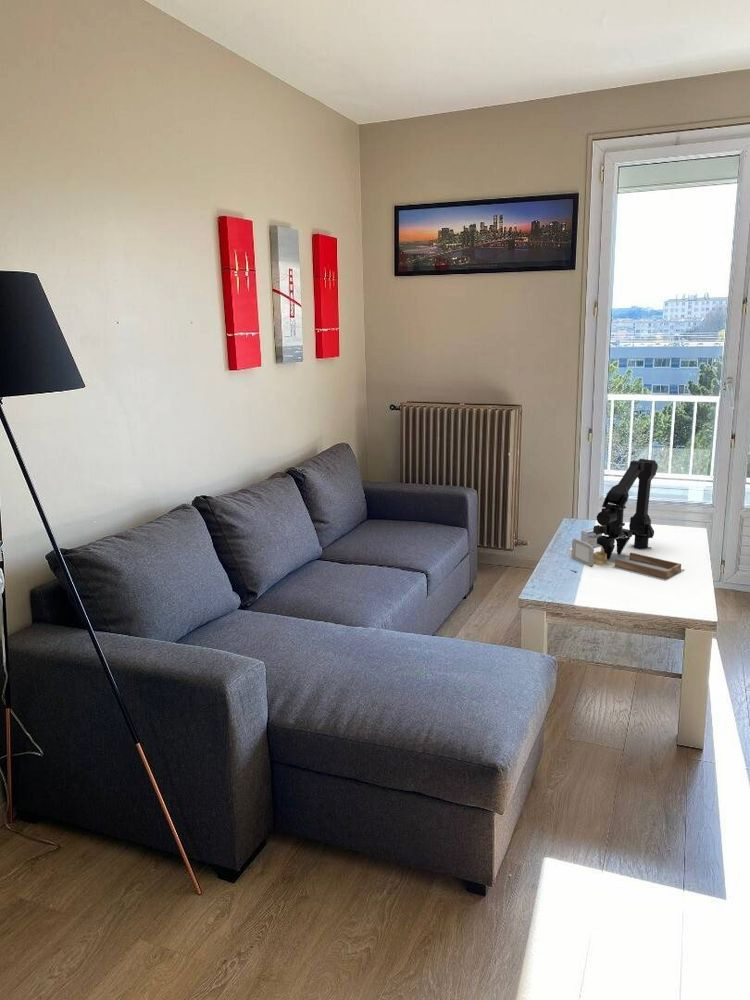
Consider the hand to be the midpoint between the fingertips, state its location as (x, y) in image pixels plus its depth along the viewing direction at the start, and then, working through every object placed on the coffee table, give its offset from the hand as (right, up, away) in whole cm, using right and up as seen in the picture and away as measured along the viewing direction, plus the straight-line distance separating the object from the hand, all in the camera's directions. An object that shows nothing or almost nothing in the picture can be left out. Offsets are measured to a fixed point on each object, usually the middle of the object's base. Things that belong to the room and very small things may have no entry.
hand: (613, 556), depth 311 cm
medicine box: (-4, +2, +18) cm, 19 cm away
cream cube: (-14, -1, +8) cm, 16 cm away
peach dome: (-1, +1, +7) cm, 7 cm away
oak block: (-7, -2, -3) cm, 8 cm away
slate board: (+5, -4, -6) cm, 9 cm away
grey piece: (-17, -4, -3) cm, 18 cm away
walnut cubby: (+10, -4, -12) cm, 16 cm away
